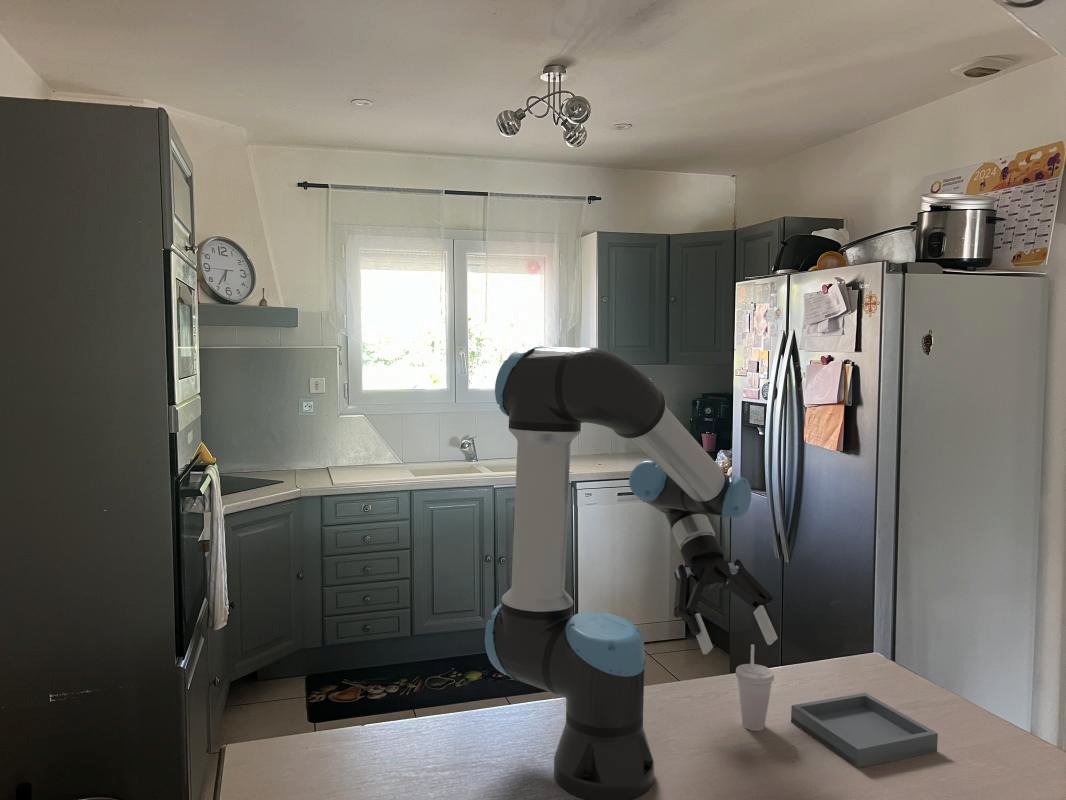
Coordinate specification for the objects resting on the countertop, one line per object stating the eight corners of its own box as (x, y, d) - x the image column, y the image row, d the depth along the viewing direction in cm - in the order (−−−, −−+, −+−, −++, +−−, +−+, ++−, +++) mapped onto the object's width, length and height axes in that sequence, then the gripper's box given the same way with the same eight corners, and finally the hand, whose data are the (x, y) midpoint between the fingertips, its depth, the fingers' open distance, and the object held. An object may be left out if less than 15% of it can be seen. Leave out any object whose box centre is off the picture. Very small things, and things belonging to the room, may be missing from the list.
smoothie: (748, 713, 140) (750, 636, 139) (780, 727, 135) (782, 647, 134) (726, 724, 136) (728, 644, 135) (758, 738, 131) (760, 656, 130)
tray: (857, 768, 122) (858, 749, 122) (791, 722, 137) (791, 705, 137) (937, 751, 127) (937, 733, 127) (864, 708, 143) (865, 692, 142)
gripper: (743, 548, 161) (788, 646, 148) (634, 558, 152) (671, 664, 139) (760, 528, 156) (808, 628, 143) (647, 537, 147) (688, 645, 134)
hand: (741, 646), depth 141 cm, fingers open, 13 cm apart
